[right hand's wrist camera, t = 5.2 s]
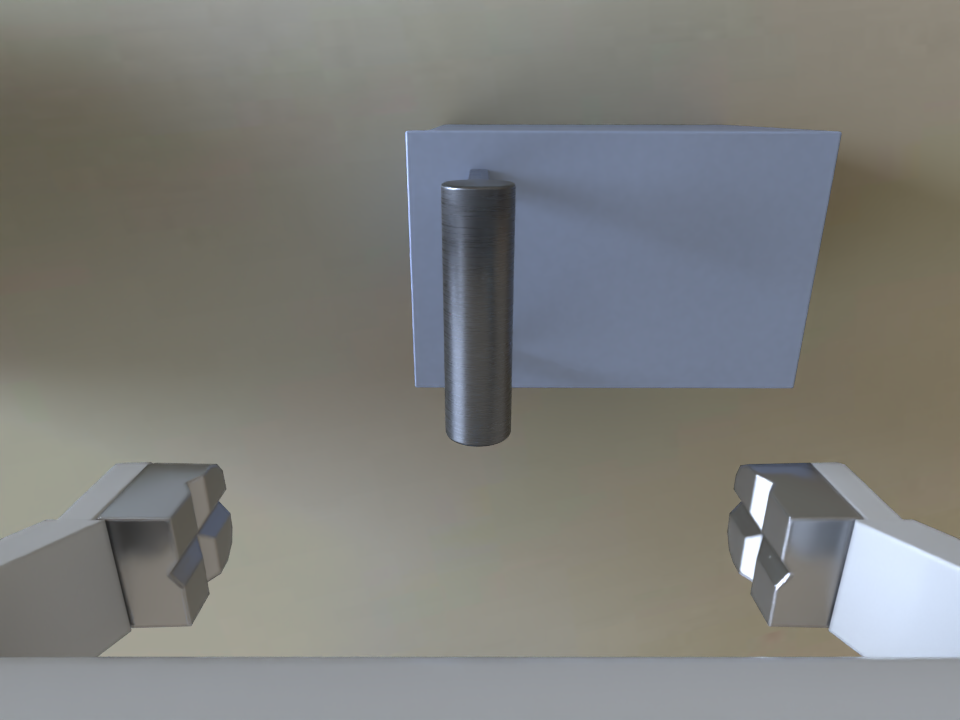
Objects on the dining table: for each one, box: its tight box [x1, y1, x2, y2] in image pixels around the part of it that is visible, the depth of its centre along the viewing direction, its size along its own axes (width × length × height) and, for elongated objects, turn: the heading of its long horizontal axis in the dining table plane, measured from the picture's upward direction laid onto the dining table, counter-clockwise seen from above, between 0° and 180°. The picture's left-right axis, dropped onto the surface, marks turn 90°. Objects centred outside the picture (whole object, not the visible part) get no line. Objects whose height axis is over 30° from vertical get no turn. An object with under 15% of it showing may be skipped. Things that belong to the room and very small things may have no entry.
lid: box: [406, 130, 842, 446], centre depth 22 cm, size 16×10×8 cm, turn 90°
